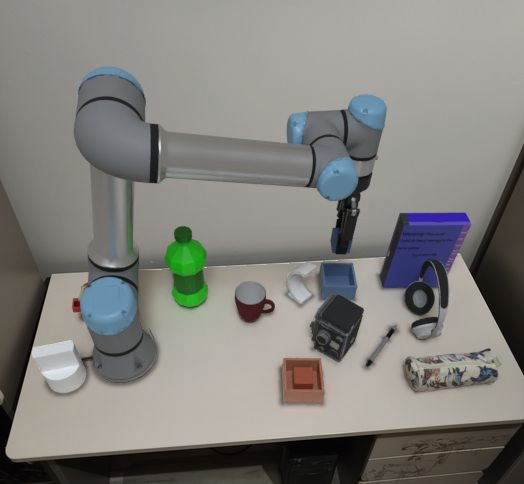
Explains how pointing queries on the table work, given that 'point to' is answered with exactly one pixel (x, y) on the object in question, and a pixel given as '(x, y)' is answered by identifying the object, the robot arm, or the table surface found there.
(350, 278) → the blue bin
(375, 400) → the table surface
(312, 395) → the clay bin
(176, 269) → the plastic bottle
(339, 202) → the robot arm
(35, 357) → the base with upright slab
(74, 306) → the toy fire truck
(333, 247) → the blue block
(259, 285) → the mug
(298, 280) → the headphone stand
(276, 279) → the table surface
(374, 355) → the pen
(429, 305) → the headphones
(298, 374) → the terracotta block
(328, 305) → the camera
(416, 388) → the pencil case
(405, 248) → the blue book
